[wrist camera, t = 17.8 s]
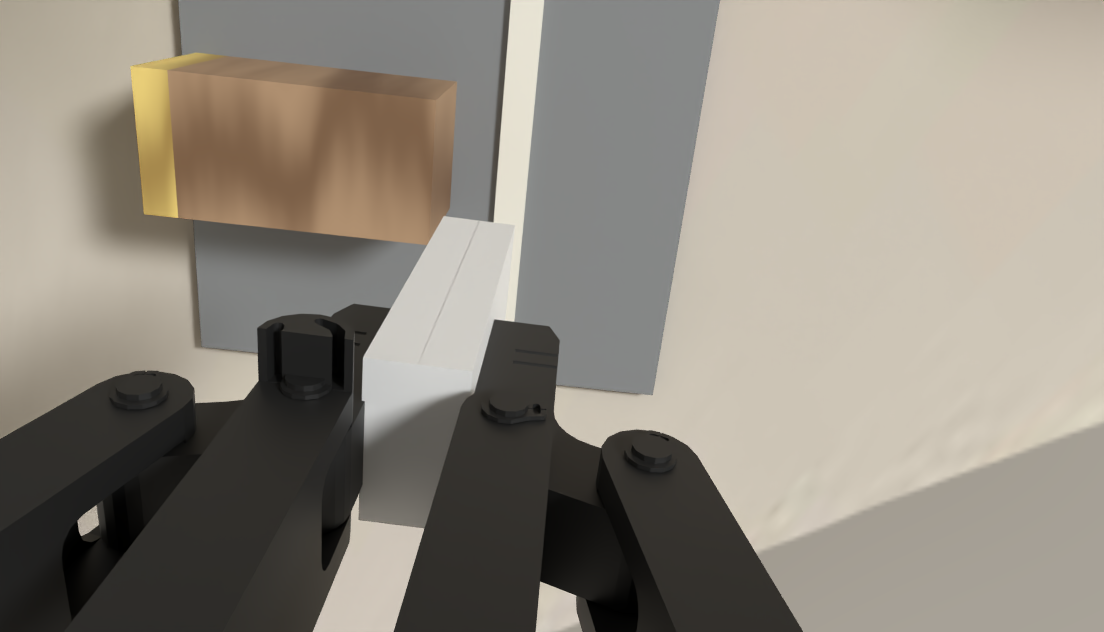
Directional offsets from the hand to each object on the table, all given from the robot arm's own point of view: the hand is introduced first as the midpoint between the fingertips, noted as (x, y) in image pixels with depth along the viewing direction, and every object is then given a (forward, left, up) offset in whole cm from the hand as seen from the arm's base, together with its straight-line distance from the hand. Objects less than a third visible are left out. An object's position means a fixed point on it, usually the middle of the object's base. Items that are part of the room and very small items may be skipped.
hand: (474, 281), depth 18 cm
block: (+1, -3, -14) cm, 14 cm away
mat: (+1, -3, -17) cm, 17 cm away
